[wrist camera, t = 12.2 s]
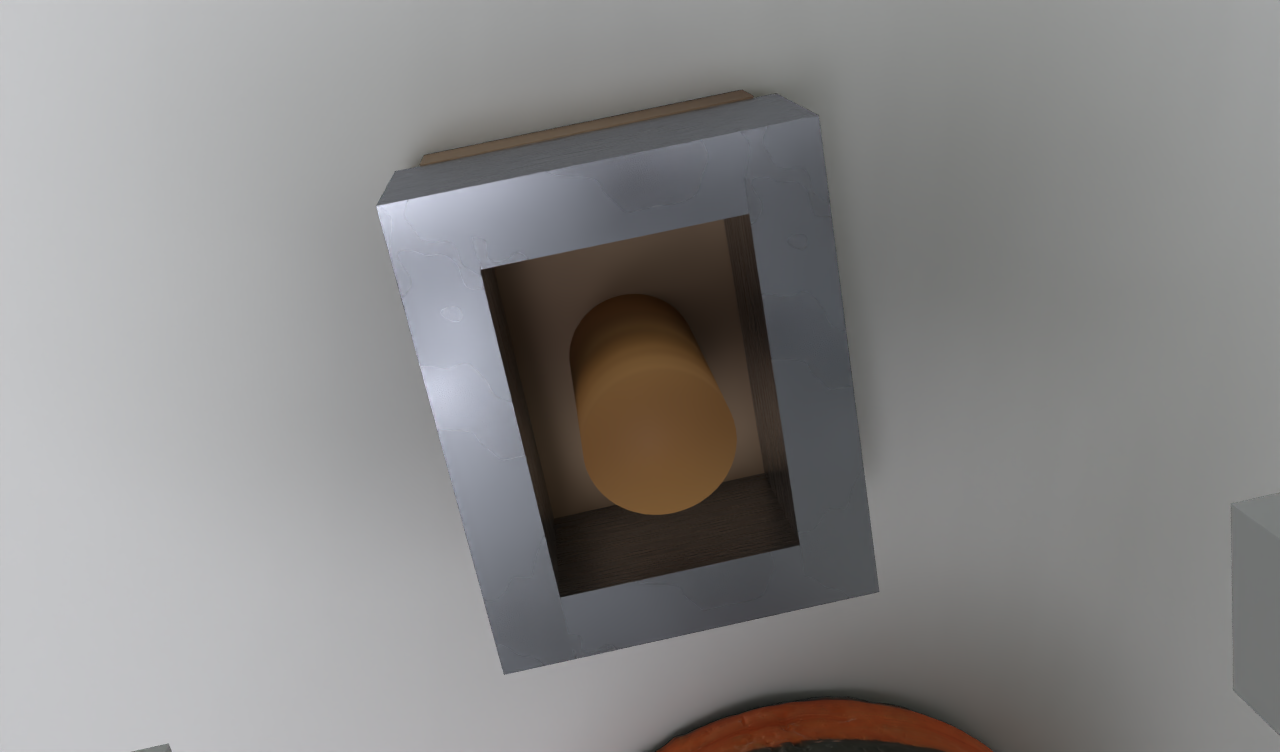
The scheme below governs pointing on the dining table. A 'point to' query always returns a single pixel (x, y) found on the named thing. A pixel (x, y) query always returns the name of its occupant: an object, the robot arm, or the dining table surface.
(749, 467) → the keeper
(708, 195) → the grey rectangular frame
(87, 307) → the dining table surface
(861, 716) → the beer stein
